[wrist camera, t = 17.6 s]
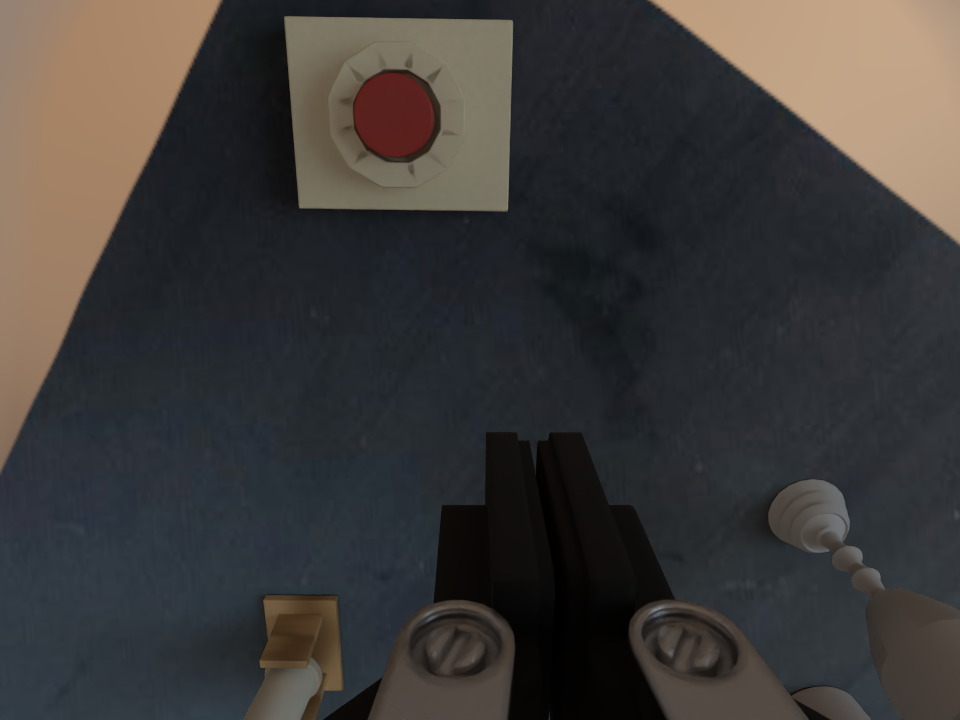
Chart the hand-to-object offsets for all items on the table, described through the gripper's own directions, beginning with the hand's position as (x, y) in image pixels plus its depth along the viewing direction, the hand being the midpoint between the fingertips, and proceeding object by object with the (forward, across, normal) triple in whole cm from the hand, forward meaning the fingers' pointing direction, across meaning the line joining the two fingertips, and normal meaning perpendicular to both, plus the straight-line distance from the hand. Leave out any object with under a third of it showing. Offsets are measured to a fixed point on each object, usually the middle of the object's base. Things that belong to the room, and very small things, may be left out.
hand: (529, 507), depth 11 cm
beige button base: (+26, +5, -7) cm, 28 cm away
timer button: (+23, +5, -7) cm, 24 cm away
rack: (+26, +13, +28) cm, 40 cm away
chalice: (+26, -21, +17) cm, 38 cm away
